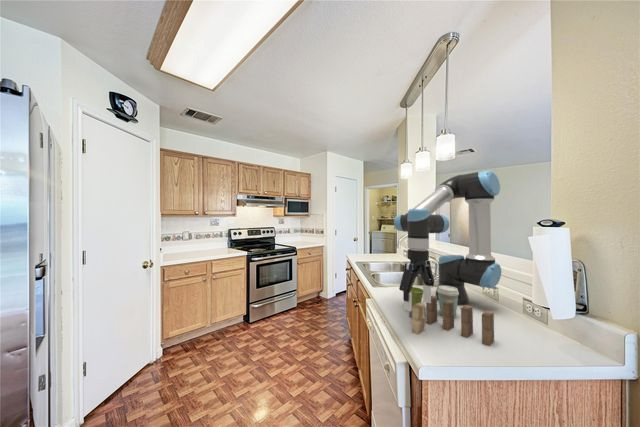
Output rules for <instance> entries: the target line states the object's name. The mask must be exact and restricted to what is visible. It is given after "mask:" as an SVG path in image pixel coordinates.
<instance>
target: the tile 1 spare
mask: <svg viewBox="0 0 640 427" xmlns="http://www.w3.org/2000/svg"><path fill="white" fill-rule="evenodd" d="M424 307H425V303H422V302H421V303H417V304H415V305H413V306H412V318H411V320H412V323H411V325H412V330H411V332H412V333H413V334H414V335H419V334H422V333H423V332H425V329H426V328H425V325H426V324H425V317H426V313H425V314H424Z"/></svg>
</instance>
